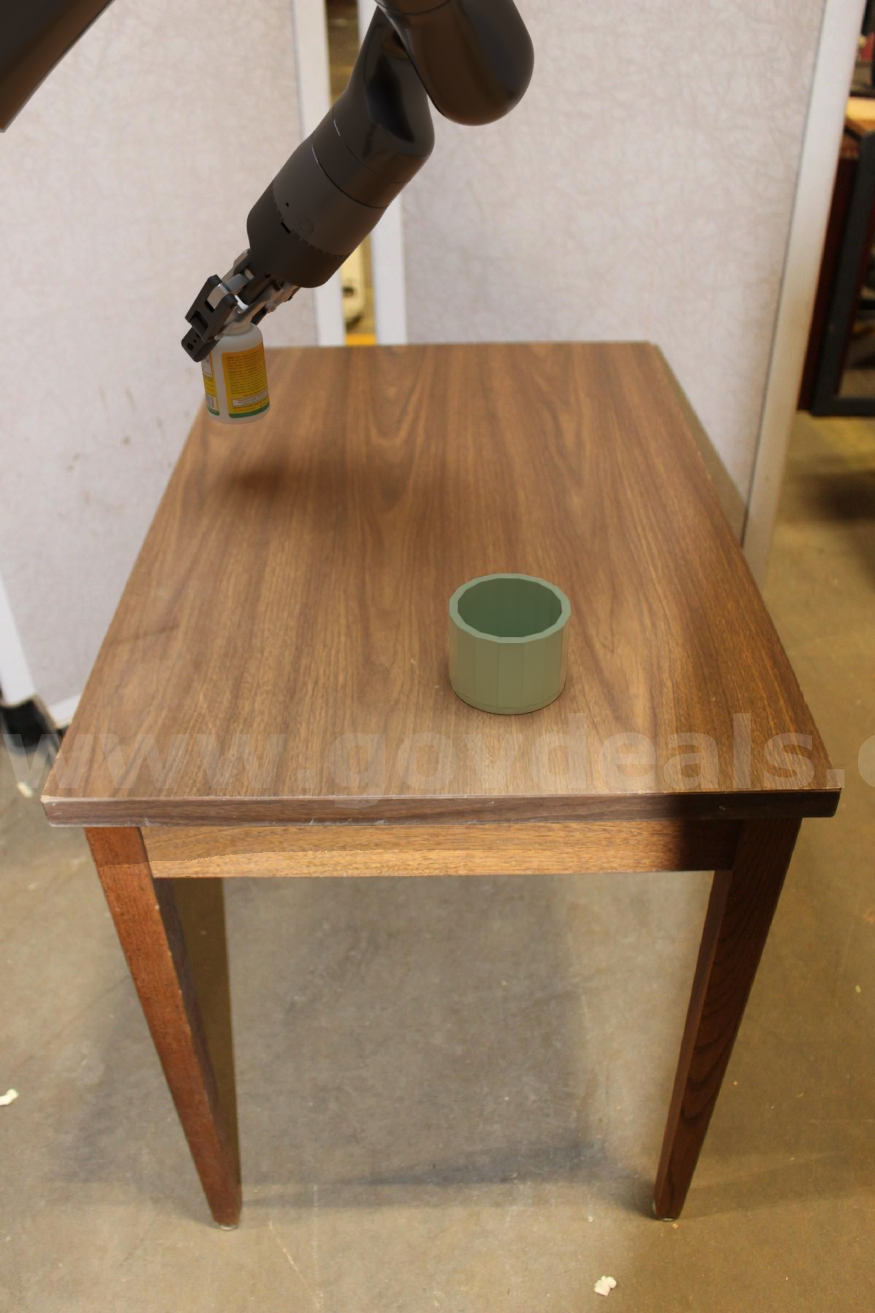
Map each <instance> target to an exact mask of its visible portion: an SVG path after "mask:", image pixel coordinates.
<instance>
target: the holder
mask: <svg viewBox="0 0 875 1313" xmlns="http://www.w3.org/2000/svg"><path fill="white" fill-rule="evenodd" d="M571 608H572V607H571V603H570V599H569V598H568V597H567V595H566V594H565V593H564V592H563V591H562V590H561V588H560V587H559V586H557V585H555V584H553V583H551V582H550V581H548V580H545V579H543V578H541V577H537V576H533V575H528V574H523V573H516V572H515V573H514V572H513V573H499V572H498V573H492V574H488V575H484V576H479V577H475V578H472V579H471V580H469V581H467V582H465V583H464V584H462V585H459V587H458V588H457V589H456V590H455V591H454V593H453V594H452V595H451V597H450V598H449V599H448V661H449V662H448V666H449V667H448V676H449V684H450V686H451V688H452V691H453V692H454V693H455V694H456V696H457V697H458V698H459V699H461V700H462V701H463V702H465V704H467V705H469V706H471V707H473V708H475V709H477V710H480V711H483V712H487V713H491V714H497V715H508V716H509V715H521V714H528V713H533V712H535V711H538V710H540V709H543V708H545V707H547V706H549V705H550V704H552V703H554V702H555V701H556V699H558V697H559V696H560V695H561V694H562V692H563V690H564V688H565V685H566V679H567V674H568V662H569V650H570V648H569V646H570V636H571V635H570V634H571V623H572V622H571V621H572V609H571Z"/></svg>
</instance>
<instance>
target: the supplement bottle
mask: <svg viewBox="0 0 875 1313" xmlns="http://www.w3.org/2000/svg"><path fill="white" fill-rule="evenodd" d="M235 297H236V299H237V300H238V305H239V306H240V307H241V308H242V309H243V310H244V311H245V310H246V309H247V308H248V306H247V305H245V304H243V303H242V302H241V300H240V299H239V298H238V297H237V295H236V296H235ZM227 319H228V318H227ZM251 319H252V318H251ZM251 319H250V320H249V321H248V322H246V323H241V324H235V325H234V326H233V327H232V328H231V329H230V330H229V331H228V332H227V333H226V334H225V336H224V337H223V338H222V339H220V341H219V342H218V343H217V344H216V346H215V347H214V348H213V349H212V350H211V352H210V353H209V354H208V355H207V357H206V358H205V359H204V360H202V361H200V367H201V374H202V380H203V388H204V395H205V402H206V407H207V413H208V415H209V417H210V419H212V420H214V421H215V422H217V423H219V424H223V425H231V426H233V425H234V426H235V425H238V426H239V425H244V424H252V423H255V422H258V421H260V420H262V419H264V418H265V417H266V416H267V415H268V414H269V412H270V409H271V404H270V394H269V393H270V392H269V384H268V375H267V366H266V365H267V364H266V356H265V347H264V337H263V333H262V330H261V329H260V327H259V326H258V325H257V326H256V325H254V324H253V323H251V322H250V321H251Z"/></svg>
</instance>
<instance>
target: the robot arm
mask: <svg viewBox="0 0 875 1313" xmlns="http://www.w3.org/2000/svg"><path fill="white" fill-rule="evenodd" d="M373 1H374V3H375V4H376V6H375V9H374V12H373V13H372V17H371V20H370V22H369V24H368V27H367V30H366V33H365V36H364V38H363V41H362V42H361V43H362V44H361V46H360V49H359V51H358V54H357V56H356V59H355V61H354V64H353V67H352V70H351V74H350V77H349V80H348V82H347V85H346V87H345V89H344V90H343V91H342V92H341V94H340V95H339V97H338V98H337V99H336V100H335V102H334V103H333V104H332V106H331V107H330V109H328V111H327V112H326V114H325V115H324V117H323V118H322V119H321V120H320V122H319V123H318V125H317V126H316V127H315V129H314V130H313V131H312V132H311V133H310V134H309V135H308V137H306V138H305V139H304V140H303V141H301V143H300V144H299V145H298V146H297V147H296V149H294V151H293V152H292V154H290V156H289V157H288V159H287V160H286V162H285V163H284V164H283V166H282V167H281V168H280V170H279V171H278V172H277V174H275V176H274V178H273V179H272V180H271V181H270V183H269V184H268V185H267V187H266V188H265V190H264V191H263V193H262V194H261V195H260V197H259V198H258V199H257V201H255V203H254V204H253V206H252V207H251V209H250V210H249V212H248V215H247V218H246V226H245V228H246V235H247V238H248V243H249V248H246V249H245V250H243V251H242V252H241V254H239V255H238V257H237V258H235V259H234V261H233V265H232V267H231V269H229V270H228V272H226V274H224V275H223V276H222V277H220V276H219V275H218V274H217V273H216V274H213V275H210V276H208V277H207V279H206V281H205V282H204V284H203V286H202V287H201V289H200V291H199V292H198V294H197V296H196V297H195V299H194V300H193V302H192V304H191V306H190V307H189V309H188V310H187V312H186V313H185V316H184V319H185V320H186V322H187V324H190V326H191V327H190V329H189V330H188V331H187V332H186V333H185V335H184V336H183V337H182V339H181V340H180V345H181V348H182V349H183V351H185V353H187V355H188V356H189V358H190V359H191V360H192V361H193V362H194V363H201V361H202V360H204V359H205V358H206V357H207V355H208V354H209V353H210V352H211V350H212V349H213V348H214V347H215V346H216V344H217V343H218V342H219V341H220V339H222V338H223V337H224V336H225V334H226V333H227V332H228V331H229V330H230V329H231V328H232V327H233V326H234V325H235V324H241V323H246V322H248V321H249V320H250V319H251V318H252V319H251V321H250V322H251V323H253V324H254V325H256V326H257V327H258V325H259V324H260V323H261V321H262V320H263V319H264V318H265V316H266V315H267V314H271V313H274V312H275V311H276V310H277V307H279V306H280V305H282V304H283V303H287V302H290V301H291V300H293V297H294V296H295V295H296V294H297V292H299V291H300V290H301V288H302V289H316V288H319V287H322V286H323V285H325V284H326V283H327V282H329V280H330V279H331V278H332V277H333V276H334V275H335V274H336V273H337V271H338V270H339V269H340V268H341V267H342V266H343V264H344V263H345V262H346V261H347V260H348V259H349V257H351V255H352V254H353V253H354V252H355V251H356V249H358V247H359V246H360V245H361V244H362V243H363V242H364V241H365V240H366V238H367V237H368V236H369V235H370V233H372V232H373V230H374V229H375V228H376V226H378V224H379V223H380V222H381V219H382V218H383V216H384V214H385V213H386V211H387V210H388V208H389V207H390V206H391V205H392V203H393V201H395V199H397V197H398V196H399V194H401V192H403V190H404V189H405V188H406V187H407V185H409V183H411V181H412V180H413V179H414V178H415V177H416V175H417V174H418V173H419V172H420V171H421V170H422V169H423V167H424V166H425V164H427V162H428V160H429V159H430V158H431V156H432V154H433V151H434V148H435V144H436V132H435V126H434V125H435V124H434V121H433V116H432V113H431V108H430V105H429V100H430V102H431V103H432V105H433V107H434V109H435V110H436V111H437V112H438V113H439V114H440V115H441V116H442V117H443V118H445V119H446V120H448V121H450V122H452V123H453V124H457V125H461V126H464V127H465V126H466V127H482V126H486V125H491V124H493V123H496V122H497V121H500V120H501V119H503V118H505V117H506V116H507V115H508V114H510V113H511V112H512V111H513V110H514V109H515V108H516V107H517V106H518V104H520V102H521V101H522V100H523V98H524V96H525V94H526V93H527V91H528V89H529V86H530V84H531V81H532V78H533V73H534V68H535V47H534V44H533V40H532V37H531V35H530V33H529V30H528V28H527V26H526V24H525V22H524V20H523V17H522V15H521V13H520V12H519V9H518V8H517V5H516V3H515V2H514V0H373ZM115 2H116V0H0V134H5V133H6V132H7V130H8V129H9V128H10V127H11V125H12V124H13V123H14V121H15V120H16V119H17V117H18V116H19V115H20V114H21V112H22V111H23V110H24V109H25V107H26V106H27V105H28V103H29V102H30V101H31V99H32V98H33V96H34V95H35V94H36V93H37V92H38V91H39V89H40V88H41V86H42V85H43V84H44V83H45V81H47V79H48V78H49V77H50V75H51V74H52V73H53V71H55V69H56V68H57V67H58V66H59V65H60V64H61V63H62V61H63V60H64V59H65V57H66V56H67V55H68V54H69V53H70V52H71V51H72V50H73V49H74V48H75V46H76V45H77V44H78V43H79V42H80V41H81V39H83V37H84V36H85V35H86V34H87V33H88V32H89V30H91V28H92V27H93V26H94V25H95V24H96V23H97V22H98V21H99V19H100V18H101V17H102V16H103V15H104V14H105V13H106V12H107V11H108V10H109V8H110V7H111V6H112V5H113V4H114V3H115ZM235 296H237V297H238V298H239V299H240V300H241V302H242V303H243V304H245V305H247V306H248V308H247V309H246V310H245V311H244V310H243V309H242V308H241V307H240V306H239V305H238V300H237V299H236V297H235ZM227 318H228V319H227Z"/></svg>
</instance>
